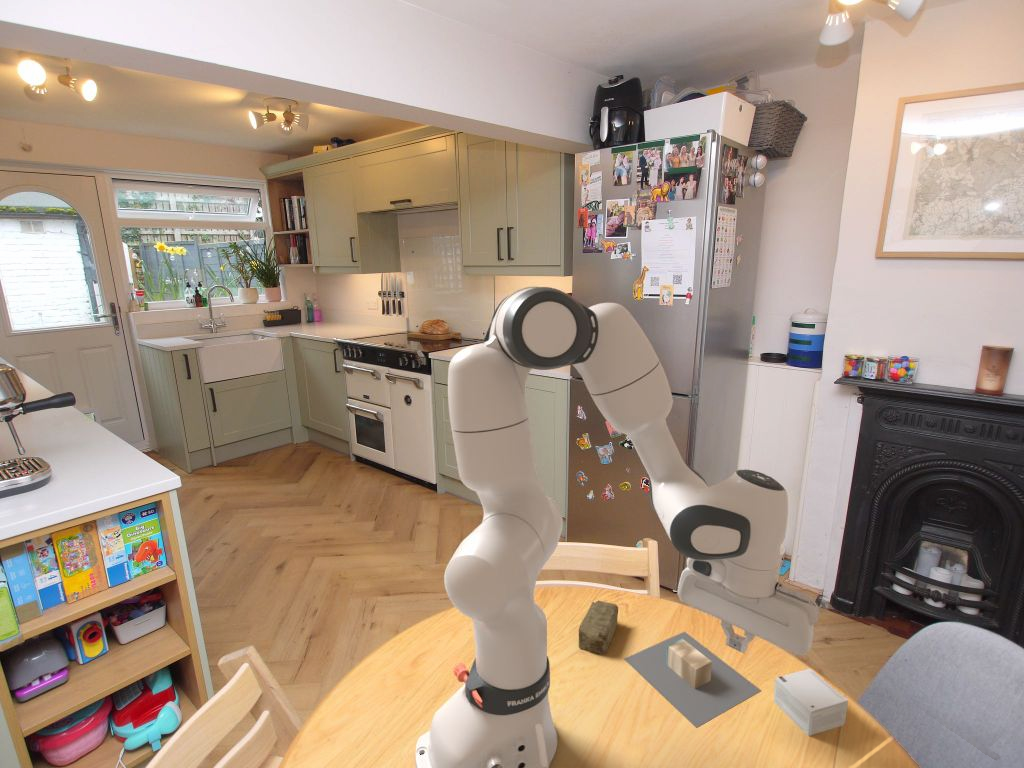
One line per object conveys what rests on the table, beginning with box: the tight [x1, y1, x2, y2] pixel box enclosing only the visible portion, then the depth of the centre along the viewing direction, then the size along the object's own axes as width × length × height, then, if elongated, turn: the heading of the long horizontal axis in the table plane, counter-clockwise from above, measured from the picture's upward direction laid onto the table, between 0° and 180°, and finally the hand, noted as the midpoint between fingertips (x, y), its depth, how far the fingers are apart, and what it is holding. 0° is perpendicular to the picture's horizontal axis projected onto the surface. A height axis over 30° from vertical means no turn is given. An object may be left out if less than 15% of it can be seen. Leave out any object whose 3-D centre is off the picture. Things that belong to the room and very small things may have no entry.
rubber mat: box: [623, 631, 762, 729], centre depth 97 cm, size 16×18×1 cm
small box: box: [772, 668, 849, 737], centre depth 88 cm, size 8×8×5 cm
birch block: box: [666, 639, 712, 689], centre depth 97 cm, size 4×4×7 cm
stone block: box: [578, 600, 619, 656], centre depth 108 cm, size 6×12×5 cm, turn 156°
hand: (736, 647), depth 86 cm, fingers closed
